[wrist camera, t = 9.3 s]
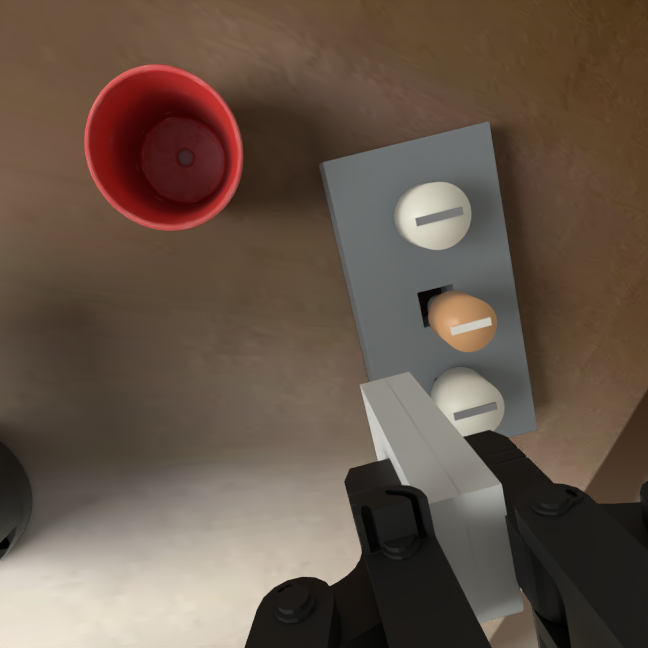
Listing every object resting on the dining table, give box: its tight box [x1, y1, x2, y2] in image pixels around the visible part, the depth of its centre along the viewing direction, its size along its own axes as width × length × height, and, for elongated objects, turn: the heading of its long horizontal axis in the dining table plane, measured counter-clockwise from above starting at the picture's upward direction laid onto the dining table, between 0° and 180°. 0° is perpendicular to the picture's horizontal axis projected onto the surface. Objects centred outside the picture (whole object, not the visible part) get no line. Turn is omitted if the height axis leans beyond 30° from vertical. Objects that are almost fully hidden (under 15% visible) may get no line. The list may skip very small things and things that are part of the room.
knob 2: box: [431, 367, 505, 437], centre depth 48 cm, size 5×5×8 cm
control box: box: [319, 122, 538, 438], centre depth 49 cm, size 14×28×4 cm, turn 14°
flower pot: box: [85, 64, 243, 231], centre depth 42 cm, size 11×11×10 cm
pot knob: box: [427, 290, 497, 352], centre depth 43 cm, size 4×4×8 cm
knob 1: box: [394, 182, 471, 250], centre depth 44 cm, size 5×5×8 cm
